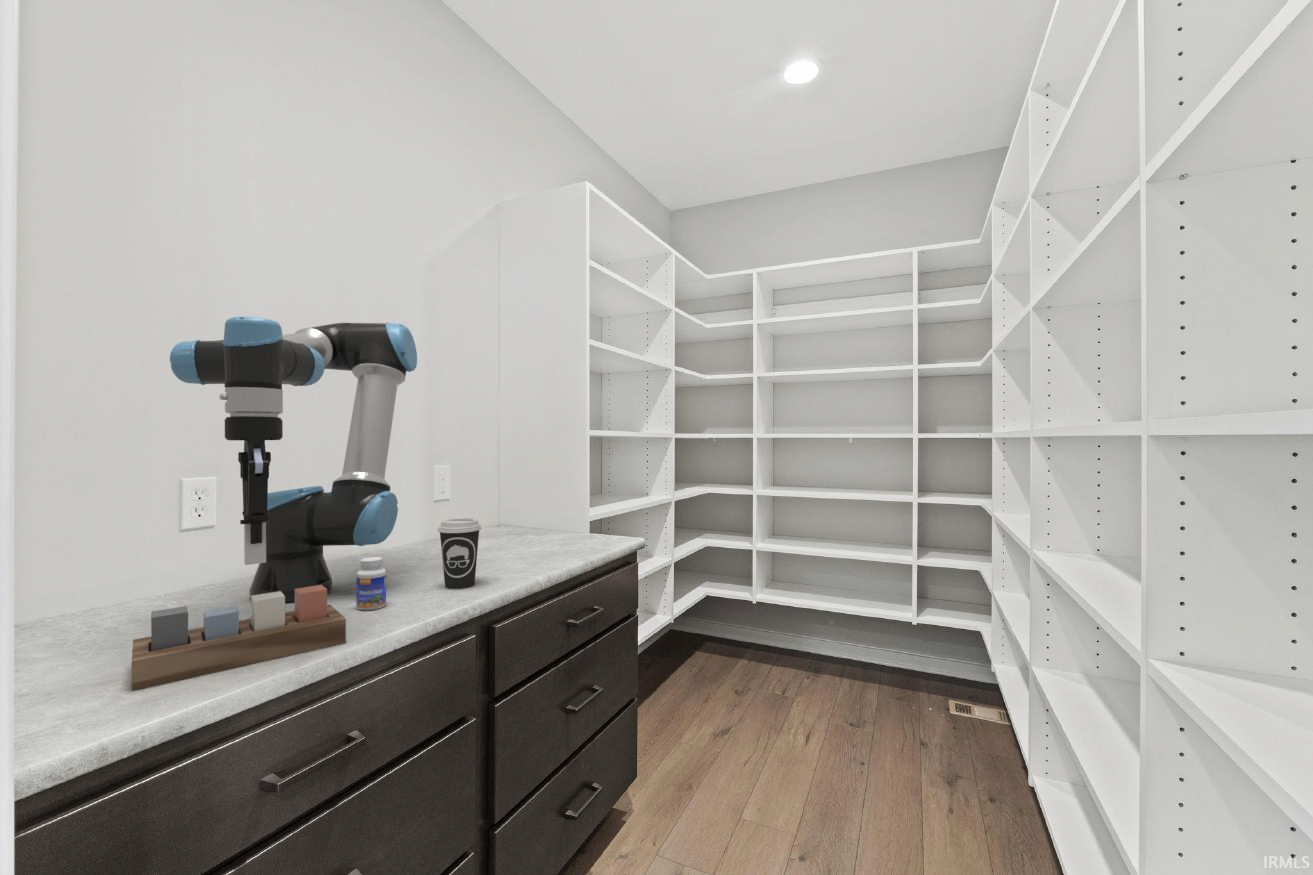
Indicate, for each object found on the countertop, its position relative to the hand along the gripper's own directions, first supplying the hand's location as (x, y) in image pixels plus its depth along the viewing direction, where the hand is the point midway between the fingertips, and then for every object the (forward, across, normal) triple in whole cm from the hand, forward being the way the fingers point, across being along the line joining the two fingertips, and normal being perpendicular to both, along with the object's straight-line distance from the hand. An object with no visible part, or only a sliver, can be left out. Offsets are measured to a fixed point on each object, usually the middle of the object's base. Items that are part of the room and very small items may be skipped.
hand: (255, 562), depth 89 cm
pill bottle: (+15, -13, +20) cm, 28 cm away
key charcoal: (+11, +1, -10) cm, 15 cm away
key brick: (+11, 0, +8) cm, 13 cm away
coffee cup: (+15, -18, +40) cm, 46 cm away
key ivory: (+11, 0, +2) cm, 11 cm away
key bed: (+14, 0, -1) cm, 14 cm away
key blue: (+12, 0, -4) cm, 13 cm away
